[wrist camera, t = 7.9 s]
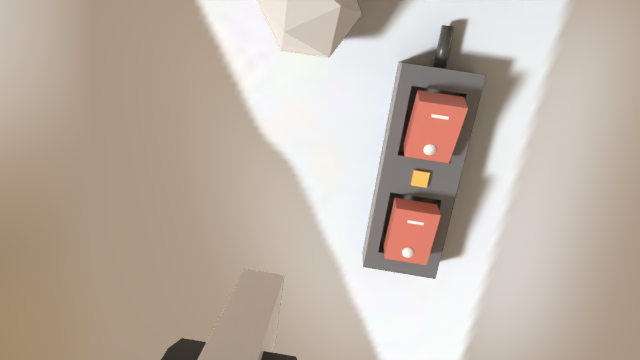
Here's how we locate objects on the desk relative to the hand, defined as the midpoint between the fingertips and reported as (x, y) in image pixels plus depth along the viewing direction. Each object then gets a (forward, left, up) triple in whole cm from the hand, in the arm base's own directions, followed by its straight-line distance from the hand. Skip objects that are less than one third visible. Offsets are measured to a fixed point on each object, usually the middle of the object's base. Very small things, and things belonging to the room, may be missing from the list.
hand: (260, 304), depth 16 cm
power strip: (-6, +9, -32) cm, 34 cm away
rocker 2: (+1, +13, -29) cm, 32 cm away
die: (-10, -9, -33) cm, 35 cm away
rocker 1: (-9, +7, -29) cm, 31 cm away
